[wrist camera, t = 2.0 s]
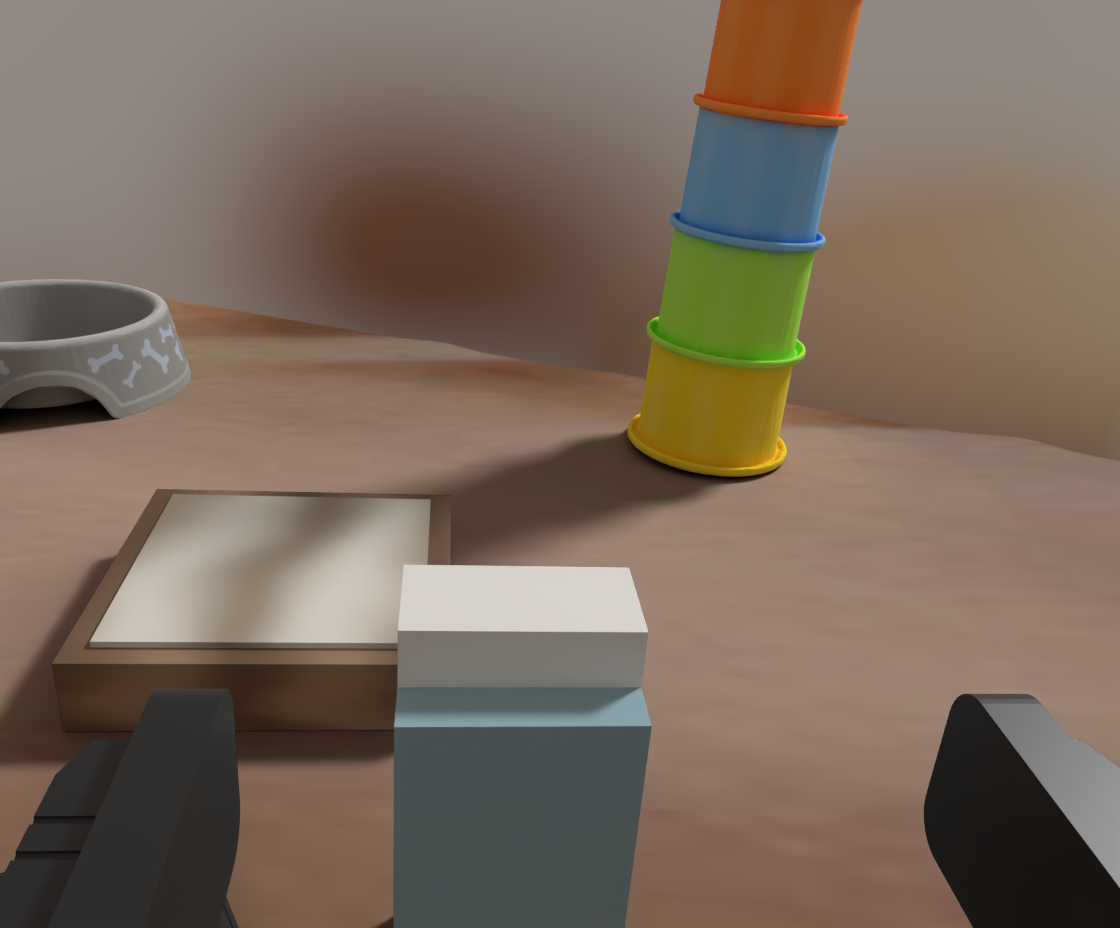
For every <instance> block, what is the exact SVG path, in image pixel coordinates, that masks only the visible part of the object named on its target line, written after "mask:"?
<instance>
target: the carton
mask: <svg viewBox="0 0 1120 928" xmlns="http://www.w3.org/2000/svg"><path fill="white" fill-rule="evenodd" d="M647 638H648V630H647V626H646V623H645V620H644V616H643V613H642V610H641V606H640V603H639V600H638V596H637V593H636V590H635V586H634V583H633V580H632V576H631V573H630V570H629V568H612V567H540V566H467V565H404V567H403V578H402V589H401V600H400V611H399V622H398V675H397V699H396V710H395V722H394V913H393V928H624V927H625V920H626V912H627V905H628V897H629V890H630V883H631V875H632V868H633V860H634V853H635V845H636V838H637V831H638V823H639V816H640V808H641V801H642V793H643V786H644V779H645V771H646V764H647V756H648V749H649V741H650V734H651V727H652V726H651V722H650V718H649V715H648V711H647V707H646V703H645V700H644V696H643V692H642V688H641V686H642V678H643V670H644V662H645V654H646V646H647Z"/></svg>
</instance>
